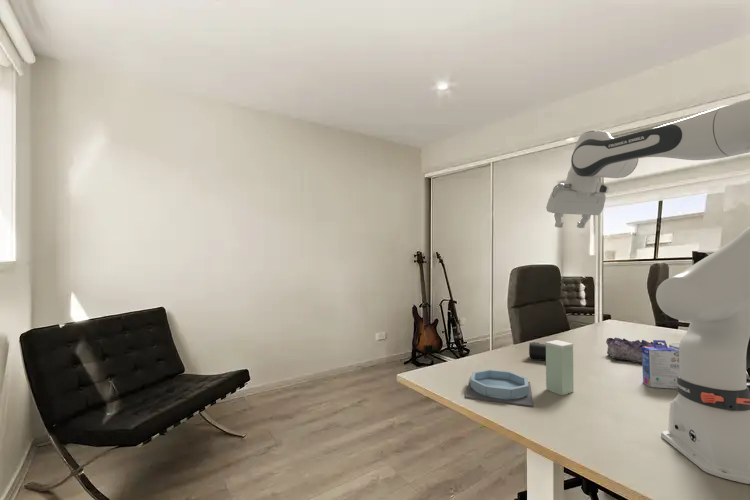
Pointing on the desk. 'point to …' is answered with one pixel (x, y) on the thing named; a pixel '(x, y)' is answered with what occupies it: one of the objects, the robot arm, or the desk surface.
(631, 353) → the geode
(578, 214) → the robot arm
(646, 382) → the ink cartridge box
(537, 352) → the end cap
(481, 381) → the bowl
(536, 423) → the desk surface
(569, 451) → the desk surface
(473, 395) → the mat
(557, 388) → the tea tin
